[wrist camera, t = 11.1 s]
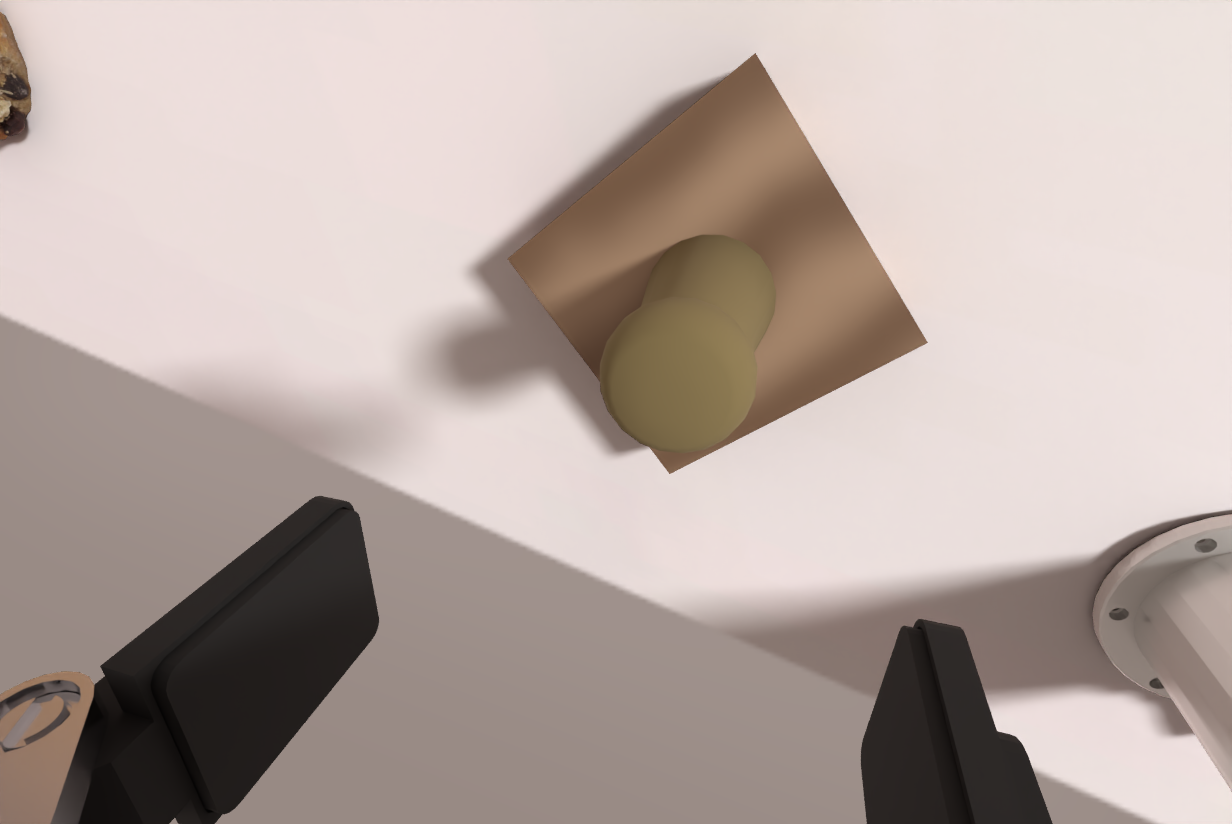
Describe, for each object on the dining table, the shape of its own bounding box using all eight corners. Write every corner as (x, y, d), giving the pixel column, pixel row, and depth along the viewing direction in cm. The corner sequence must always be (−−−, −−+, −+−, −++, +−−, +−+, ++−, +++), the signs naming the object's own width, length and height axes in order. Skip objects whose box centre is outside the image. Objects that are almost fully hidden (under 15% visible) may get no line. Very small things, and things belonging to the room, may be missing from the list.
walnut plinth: (911, 315, 30) (927, 342, 26) (681, 439, 36) (669, 473, 33) (760, 60, 27) (755, 53, 23) (537, 243, 33) (507, 258, 30)
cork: (780, 356, 28) (776, 480, 19) (655, 365, 30) (594, 483, 21) (771, 224, 26) (761, 290, 16) (636, 243, 28) (556, 313, 18)
